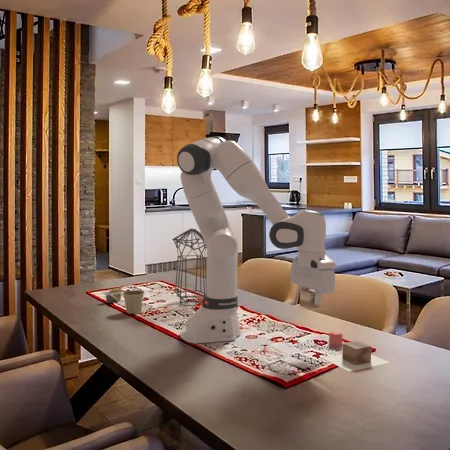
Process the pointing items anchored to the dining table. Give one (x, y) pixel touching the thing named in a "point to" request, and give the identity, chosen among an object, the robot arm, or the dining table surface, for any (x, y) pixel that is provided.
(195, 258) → the geometric lantern
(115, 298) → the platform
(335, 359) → the board
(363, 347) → the walnut base
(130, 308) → the flower pot
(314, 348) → the dining table surface
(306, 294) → the beech cube
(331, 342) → the red capsule
